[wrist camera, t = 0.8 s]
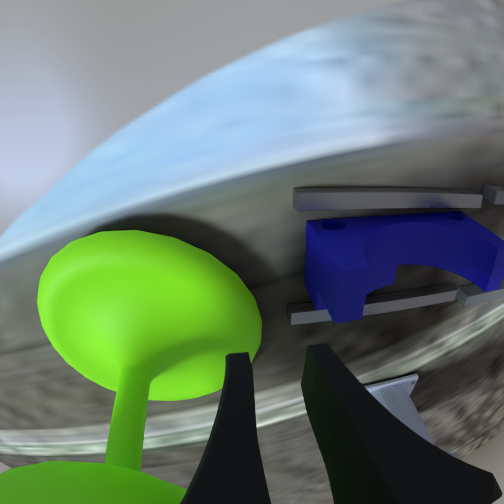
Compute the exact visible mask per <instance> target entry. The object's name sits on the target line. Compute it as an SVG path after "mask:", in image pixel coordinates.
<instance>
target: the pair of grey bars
mask: <svg viewBox="0 0 504 504" xmlns="http://www.w3.org/2000/svg"><path fill="white" fill-rule="evenodd" d="M482 198H483V195H482V194H480V193H479V192H477V191H475V190H459V189H436V188H398V187H324V188H293V206H294V207H295V209H296V210H297V211H311V210H339V209H377V208H481V203H482ZM457 291H458V290H457V289H456V288H455V287H454V286H453V285H452V284H445V285H439V286H432V287H426V288H419V289H412V290H405V291H398V292H391V293H384V294H376V295H368V296H366V299H365V304H364V310H363V315H362V316H367V315H373V314H380V313H386V312H392V311H398V310H404V309H410V308H416V307H421V306H427V305H432V304H437V303H443V302H448V301H453V300H455V297H456V294H457ZM288 318H289V321H290V324H291V325H296V324H305V323H314V322H322V321H330V320H332V318H331V316H330V314H329V312H328V310H327V309H325V310H318V311H316V310H315V307H314V305H313V303H312V302H307V303H297V304H289V305H288Z"/></svg>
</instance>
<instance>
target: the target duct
mask: <svg viewBox="0 0 504 504" xmlns="http://www.w3.org/2000/svg"><path fill="white" fill-rule="evenodd" d="M482 195H483V198H484V199H486V200H488V201H490V202H491V203H493V204H501V205H504V186H495V185H484V188H483V193H482ZM457 290H458V291H457V294H456V297H455V298H456V299H457V300H458V301H459V302H460V303H461V304H462V305H463V306H464V307H465V306H469V305H473V304H478V303H482V302H486V301H490V300H494V299H498V298H502V297H504V278H503V280H502V283H501V285H500V288H499V289H497V290H493V291H489V292H484V291H483V290H482V289H481V288H479V287H478V286H477V285H476V284H472V285H467V286H461V287H458V288H457Z"/></svg>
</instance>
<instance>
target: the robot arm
mask: <svg viewBox="0 0 504 504" xmlns="http://www.w3.org/2000/svg"><path fill="white" fill-rule="evenodd" d="M225 362H226V364H225V376H224V383H223V389H222V394H221V398H220V402H219V407H218V411H217V415H216V418H215V421H214V425H213V428H212V431H211V434H210V437H209V440H208V443H207V446H206V448H205V451H204V454H203V456H202V459H201V461H200V464H199V466H198V468H197V470H196V473H195V475H194V477H193V479H192V481H191V483H190V486H189V488H188V490H187V492H186V494H185V495H184V497H183V499H182V501H181V503H180V504H271V502H270V497H269V493H268V488H267V484H266V479H265V474H264V470H263V465H262V460H261V455H260V450H259V444H258V438H257V429H256V415H255V399H254V383H253V370H252V366H251V361H250V357H249V352H242V353H229V354H228V355H226V356H225ZM418 378H419V376H418V375H417V374H412V375H408V376H405V377H401V378H397V379H393V380H389V381H385V382H380V383H376V384H371V385H367V386H363V385H362V384H361V383H360V382H359V381H358V379H357V378H356V377H355V376H354V375H353V374H352V373H351V372H350V370H349V369H348V368H347V367H346V366H345V365H344V363H343V362H342V361H341V360H340V359H339V358H338V356H337V355H336V354H335V353H334V352H333V350H332V349H331V348H330V347H329V345H327V344H326V343H325V344H318V345H310V346H308V348H307V354H306V360H305V365H304V371H303V376H302V381H301V387H302V392H303V397H304V402H305V406H306V411H307V414H308V417H309V420H310V423H311V426H312V429H313V432H314V434H315V437H316V440H317V443H318V446H319V449H320V452H321V454H322V457H323V460H324V463H325V466H326V470H327V473H328V477H329V482H330V486H331V491H332V495H333V500H334V504H492V503H493V502H494V501H496V500H497V499H499V498H500V497H501V496H502V492H501V489H500V487H499V485H498V483H497V481H496V479H495V477H494V476H493V474H492V473H490V472H487V471H485V470H482V469H480V468H477V467H475V466H472V465H470V464H468V463H465V462H463V461H461V460H460V459H458V457H457V455H456V454H454V453H449V452H445V451H443V450H441V449H440V448H438V447H437V446H435V444H434V442H433V440H432V438H431V436H430V434H429V433H428V431H427V429H426V427H425V425H424V423H423V421H422V419H421V417H420V415H419V413H418V411H417V409H416V407H415V406H414V404H413V402H412V400H411V398H410V394H411V392H412V390H413V388H414V386H415V384H416V382H417V380H418Z"/></svg>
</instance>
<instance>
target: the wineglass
mask: <svg viewBox="0 0 504 504" xmlns="http://www.w3.org/2000/svg"><path fill="white" fill-rule="evenodd" d="M37 305H38V310H39V314H40V319H41V323H42V327H43V329H44V331H45V332H46V334H47V336H48V338H49V340H50V342H51V343H52V345H53V347H54V348H55V349H56V350H57V351H58V353H59V354H60V355H61V356H62V357H63V358H64V359H65V361H66V362H67V363H68V364H69V365H71V366H72V367H73V368H74V369H76V370H77V371H78V372H80V373H81V374H82V375H84V376H85V377H86V378H88V379H90V380H92V381H94V382H95V383H97V384H99V385H101V386H103V387H105V388H107V389H110V390H113V391H116V392H117V393H116V398H115V403H114V408H113V413H112V419H111V425H110V431H109V437H108V443H107V449H106V456H105V463H104V464H103V463H85V462H66V461H47V462H43V463H38V464H33V465H28V466H23V467H18V468H12V469H9V470H7V471H5V472H3V473H2V474H0V504H180V503H181V501H182V499H183V497H184V495H185V494H186V492H187V490H188V489H185V488H182V487H179V486H177V485H174V484H171V483H169V482H166V481H163V480H161V479H158V478H156V477H154V476H151V475H149V474H146V473H143V472H141V460H142V449H143V439H144V430H145V421H146V412H147V404H148V400H162V401H176V400H184V399H192V398H197V397H200V396H203V395H207V394H210V393H213V392H216V391H218V390H219V389H221V388H223V383H224V376H225V364H226V362H225V356H226V355H228V354H229V353H242V352H249V357H250V361H251V363H252V361H253V359H254V357H255V355H256V352H257V350H258V348H259V346H260V344H261V332H262V319H261V316H260V313H259V310H258V306H257V303H256V300H255V298H254V296H253V295H252V294H251V292H250V291H249V290H248V288H247V287H246V286H245V284H244V283H243V282H242V280H241V279H240V278H239V276H238V275H237V274H236V273H235V272H233V271H232V270H231V269H229V268H228V267H227V266H225V265H224V264H223V263H222V262H220V261H219V260H218V259H216V258H215V257H214V256H212V255H211V254H210V253H208V252H206V251H203V250H201V249H199V248H197V247H194V246H192V245H190V244H188V243H185V242H183V241H181V240H179V239H177V238H174V237H169V236H164V235H159V234H154V233H149V232H144V231H139V230H124V231H102V232H98V233H95V234H92V235H89V236H86V237H83V238H80V239H77V240H74V241H72V242H70V243H69V244H68V245H67V246H65V247H64V248H63V249H61V250H60V251H59V252H58V253H56V254H55V255H54V256H53V257H52V258H51V259H50V261H49V263H48V264H47V266H46V268H45V270H44V272H43V273H42V275H41V277H40V282H39V290H38V298H37Z"/></svg>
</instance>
